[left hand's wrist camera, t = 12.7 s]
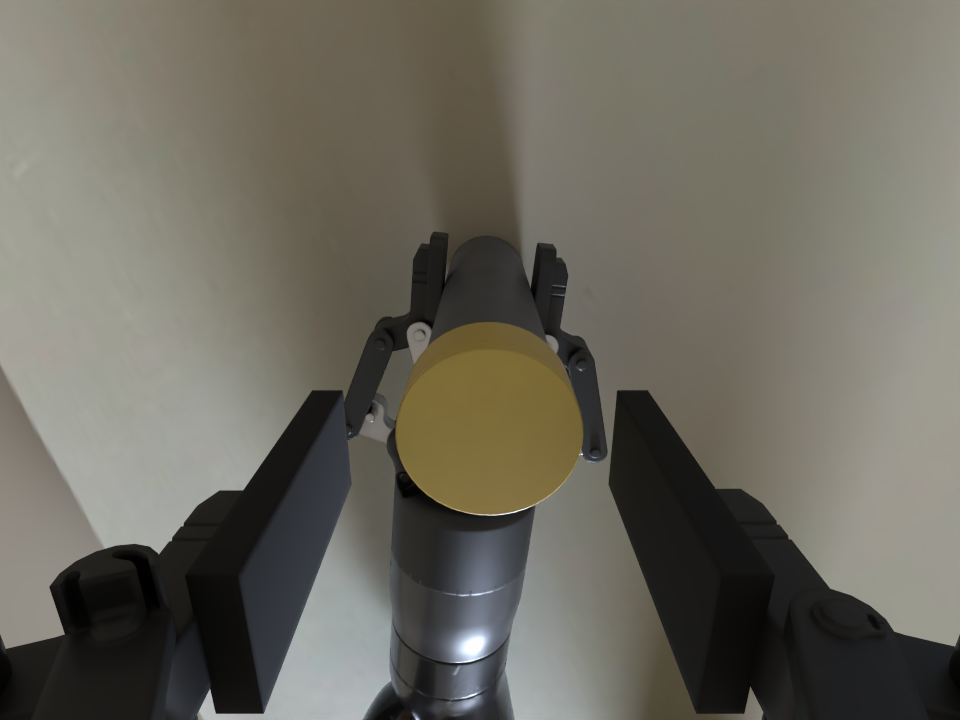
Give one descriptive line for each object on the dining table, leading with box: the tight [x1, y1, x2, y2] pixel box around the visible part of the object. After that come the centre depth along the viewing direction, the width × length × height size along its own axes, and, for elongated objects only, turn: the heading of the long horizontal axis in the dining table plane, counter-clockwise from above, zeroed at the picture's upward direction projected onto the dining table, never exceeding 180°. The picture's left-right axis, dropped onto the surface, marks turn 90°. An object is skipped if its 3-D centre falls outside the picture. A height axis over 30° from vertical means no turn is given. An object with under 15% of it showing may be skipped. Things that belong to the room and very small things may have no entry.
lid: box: [395, 322, 584, 515], centre depth 15 cm, size 5×5×2 cm
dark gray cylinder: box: [427, 236, 548, 347], centre depth 23 cm, size 4×4×19 cm
